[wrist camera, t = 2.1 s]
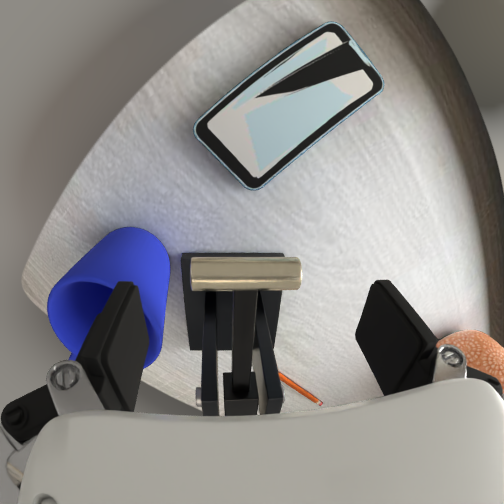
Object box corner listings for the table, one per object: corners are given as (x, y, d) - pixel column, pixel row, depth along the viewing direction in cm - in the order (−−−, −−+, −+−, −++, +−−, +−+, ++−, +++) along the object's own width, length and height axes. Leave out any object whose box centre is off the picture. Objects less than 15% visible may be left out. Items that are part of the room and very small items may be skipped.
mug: (70, 286, 25) (28, 353, 16) (123, 196, 21) (68, 249, 13) (132, 328, 28) (110, 403, 19) (197, 253, 24) (187, 331, 16)
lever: (192, 247, 14) (188, 272, 11) (294, 247, 14) (307, 272, 12) (205, 394, 19) (205, 420, 17) (271, 392, 20) (275, 417, 17)
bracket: (182, 252, 24) (157, 366, 13) (283, 253, 25) (328, 360, 14) (190, 342, 29) (184, 447, 18) (272, 341, 30) (294, 442, 19)
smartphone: (186, 128, 19) (334, 17, 15) (188, 128, 20) (330, 20, 16) (253, 196, 22) (389, 87, 18) (252, 193, 23) (383, 87, 19)
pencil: (317, 403, 38) (319, 406, 38) (244, 352, 31) (245, 356, 30) (322, 400, 38) (323, 404, 37) (250, 348, 31) (250, 353, 30)
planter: (484, 288, 32) (555, 365, 15) (473, 356, 41) (516, 418, 24) (379, 360, 35) (434, 470, 18) (392, 409, 44) (425, 484, 27)
